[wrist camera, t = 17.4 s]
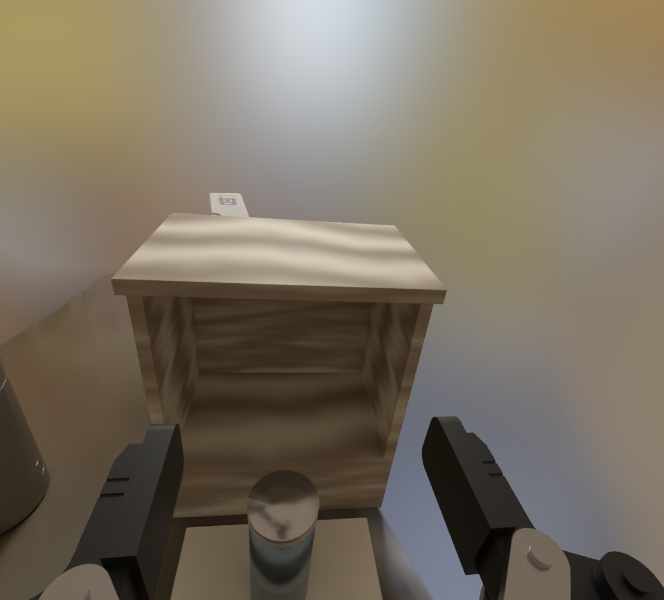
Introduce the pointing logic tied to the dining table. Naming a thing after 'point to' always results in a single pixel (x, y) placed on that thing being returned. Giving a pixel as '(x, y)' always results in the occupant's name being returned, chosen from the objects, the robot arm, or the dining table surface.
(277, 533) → the tin
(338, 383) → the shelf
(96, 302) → the dining table surface
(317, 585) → the tile
